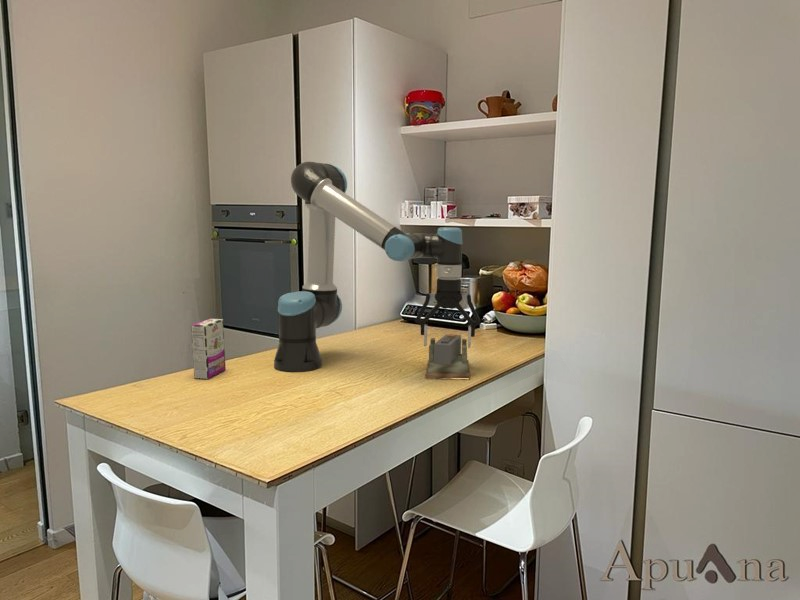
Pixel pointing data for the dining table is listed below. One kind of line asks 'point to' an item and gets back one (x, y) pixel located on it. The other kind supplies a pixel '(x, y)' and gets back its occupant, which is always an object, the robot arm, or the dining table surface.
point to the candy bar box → (208, 348)
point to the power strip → (447, 349)
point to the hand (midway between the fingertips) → (447, 346)
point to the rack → (454, 370)
